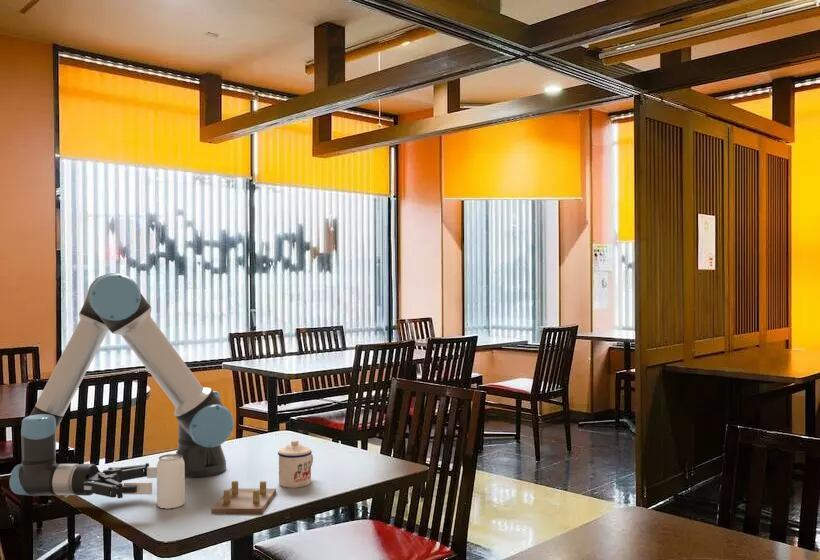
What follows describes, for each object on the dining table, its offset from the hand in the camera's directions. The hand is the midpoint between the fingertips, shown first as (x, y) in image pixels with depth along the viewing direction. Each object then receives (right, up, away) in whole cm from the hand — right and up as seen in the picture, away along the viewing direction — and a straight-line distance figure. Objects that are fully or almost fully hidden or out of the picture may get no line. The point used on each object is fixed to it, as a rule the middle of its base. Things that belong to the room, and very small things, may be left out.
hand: (162, 480), depth 172 cm
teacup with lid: (+30, -7, +20) cm, 37 cm away
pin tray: (+20, -6, +2) cm, 21 cm away
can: (+2, -7, 0) cm, 7 cm away
